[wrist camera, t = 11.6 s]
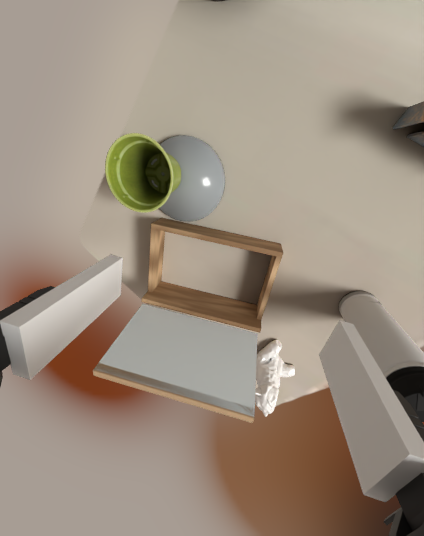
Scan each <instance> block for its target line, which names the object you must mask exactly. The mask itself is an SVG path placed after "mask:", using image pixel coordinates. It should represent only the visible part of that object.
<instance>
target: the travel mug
mask: <svg viewBox="0 0 424 536" xmlns="http://www.w3.org/2000/svg"><path fill="white" fill-rule="evenodd" d="M339 312H340V313H341V315H342V317H343V319H344V321H345V322H348V323H351V324H354V326H355V328H356V329H357V331H358V333H359V335H360V336H361V338H362V340H363V341H364V343H365V345H366V346H367V348H368V350H369V351H370V353H371V355H372V356H373V358H374V360H375V361H376V363H377V365H378V366H379V368H380V370H381V371H382V373H383V375H384V376H385V378H386V380H387V381H388V383H389V385H390V386H391V388H392V390H395V391H398V392H399V393H400V394H401V395H402V396H403V397H404V398H405V399H406V400H407V401H408V402H409V403H410V404H411V406H412V408H413V409H414V411H415V412H416V414H417V415H418V417H419V418H418V419H419V420H421V422H424V353H423V351H422V350H421V349H420V348H419V347H418V346H417V345H416V343H415V342H414V341H413V340H412V339H411V338H410V337H409V335H408V334H407V333H406V332H405V331H404V330H403V328H402V327H401V326H400V325H399V324H398V323H397V322H396V320H395V319H394V318H393V317H392V316H391V315H390V314H389V312H388V311H387V310H386V309H385V308H384V307H383V306H382V304H381V303H380V302H379V301H378V300H377V299H376V298H375V296H374V295H372V294H371V293H368V292H365V291H356V292H352V293H349V294H348V295H346V296H345V297H343V299H342V300H341V301H340V303H339Z"/></svg>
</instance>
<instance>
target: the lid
mask: <svg viewBox="0 0 424 536" xmlns="http://www.w3.org/2000/svg"><path fill="white" fill-rule="evenodd" d="M257 336H258V334H257V333H253V332H249V331H246V330H242V329H238V328H234V327H230V326H226V325H222V324H219V323H215V322H211V321H207V320H203V319H199V318H196V317H192V316H188V315H184V314H180V313H176V312H172V311H169V310H165V309H161V308H157V307H153V306H149V305H146V304H142V305H141V307H140V308H139V309H138V311H137V312H136V313H135V315H134V316H133V317H132V319H131V320H130V321H129V323H128V324H127V325H126V327H125V328H124V330H123V331H122V332H121V334H120V335H119V336H118V338H117V339H116V340H115V342H114V343H113V344H112V346H111V347H110V348H109V350H108V351H107V352H106V354H105V355H104V356H103V358H102V359H101V360H100V362H99V363H98V365H97V366H96V367H95V368H94V370H93V374H94V376H97V377H101V378H104V379H107V380H111V381H114V382H118V383H121V384H124V385H127V386H131V387H134V388H137V389H141V390H144V391H147V392H151V393H154V394H157V395H161V396H164V397H167V398H171V399H174V400H177V401H181V402H184V403H187V404H191V405H194V406H198V407H201V408H204V409H207V410H211V411H214V412H218V413H221V414H224V415H227V416H231V417H234V418H238V419H241V420H244V421H247V422H251V423H252V422H253V420H254V410H255V386H256V361H257Z"/></svg>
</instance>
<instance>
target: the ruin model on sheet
mask: <svg viewBox="0 0 424 536" xmlns="http://www.w3.org/2000/svg"><path fill="white" fill-rule="evenodd" d="M422 122H424V102H421V103H418V104H416V105H413V106H410V107H409V108H408V109H407V110H406V111H405V113H404V114H403V115H402V117H401V118H400V119H399V120H398V122H397V123H396V124H395V126H394V127H393V129H398V128H402V127H406V126H410V125H414V124H418V123H422ZM407 138H410V139H411V140H413V141H415V142H416V143H418V144H420V145H421V146H423V147H424V131H423V132H418V133H413V134H409V135H408V136H407Z"/></svg>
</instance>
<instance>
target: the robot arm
mask: <svg viewBox="0 0 424 536" xmlns="http://www.w3.org/2000/svg"><path fill="white" fill-rule="evenodd" d="M213 1H223V0H213ZM122 261H123V258H122V257H118V256H115V255H109V256H107V257H106V258H104V259H102V260H101V261H99V262H98V263H96V264H94V265H92V266H91V267H89V268H87V269H86V270H84V271H82V272H81V273H79V274H78V275H76V276H74V277H72V278H71V279H69V280H67V281H66V282H64V283H62V284H61V285H59V286H57V287H52V286H50V287H47V288H44V289H40V290H38V291H36V292H34V293H33V294H31V295H29V296H28V297H25V298H23V299H22V300H20V301H19V302H16V303H15V304H13V305H11V306H10V307H8V308H6V309H4V310H2V311H0V386H1V382H2V377H3V376H2V370H3V369H5V368H6V367H7V366H9V365H10V364H11V368H12V372H13V374H14V375H17V376H20V377H23V378H26V379H29V380H31V379H32V378H33V377H34V376H35V375H36V374H37V373H38V372H39V371H40V370H41V369H43V368H44V367H45V365H47V364H48V363H49V362H50V361H51V360H52V359H53V358H54V357H55V356H56V355H57V354H58V353H60V352H61V351H62V350H63V349H64V348H65V347H66V346H67V345H68V344H69V343H70V342H71V341H72V340H74V338H76V337H77V336H78V335H79V334H80V333H81V332H82V331H83V330H84V329H85V328H86V327H87V326H88V325H90V324H91V323H92V322H93V321H94V320H95V319H96V318H97V317H98V316H99V315H100V314H101V313H102V312H103V311H105V309H107V308H108V307H109V306H110V305H111V304H112V303H113V302H114V301H115V300H116V299H117V298H118V297H119V296H120V295H121V283H122ZM319 356H320V359H321V362H322V366H323V369H324V372H325V375H326V378H327V381H328V384H329V387H330V391H331V394H332V397H333V400H334V403H335V406H336V409H337V413H338V416H339V419H340V422H341V425H342V428H343V431H344V434H345V437H346V441H347V444H348V447H349V450H350V453H351V456H352V459H353V463H354V465H355V469H356V472H357V475H358V478H359V482H360V485H361V488H362V491H363V494H364V495H366V496H369V497H372V498H375V499H378V500H381V501H384V502H387V501H388V500H389V499H390V498H392V497H393V496H394V495H396V496H397V498H398V500H399V503H400V505H401V508H399V509H398V510H397V511H395V512H394V513H392V514H391V515H390V516H388V517H387V518H386V519H385V521H384V523H385V524H386V525H388V524H390V523H391V522H393V523H392V527H391V530H390V533H389V536H424V425H423V423H422V422H421V420H419V419H418V418H419V417H418V415H417V414H416V412H415V411H414V409H413V408H412V406H411V404H410V403H409V402H408V401H407V400H406V399H405V398H404V397H403V396H402V395H401V394H400V393H399V392H398V391H395V390H392V388H391V386H390V385H389V383H388V381H387V380H386V378H385V376H384V375H383V373H382V371H381V370H380V368H379V366H378V365H377V363H376V361H375V360H374V358H373V356H372V355H371V353H370V351H369V350H368V348H367V346H366V345H365V343H364V341H363V340H362V338H361V336H360V335H359V333H358V331H357V329H356V328H355V326H354V324H351V323H348V322H344V321H341V320H339V322H338V324H337V325H336V327H335V329H334V330H333V332H332V334H331V336H330V337H329V339H328V341H327V342H326V344H325V346H324V347H323V349H322V351H321V352H320V354H319Z"/></svg>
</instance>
